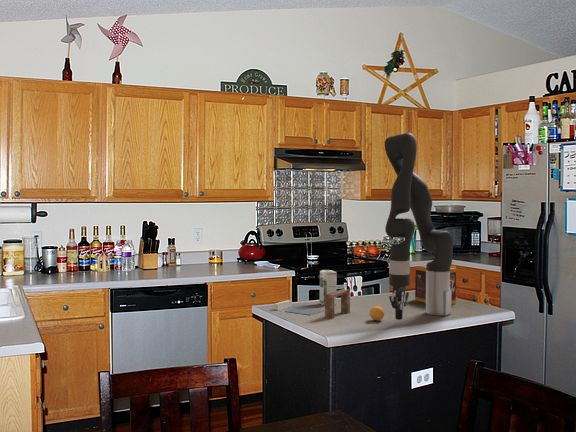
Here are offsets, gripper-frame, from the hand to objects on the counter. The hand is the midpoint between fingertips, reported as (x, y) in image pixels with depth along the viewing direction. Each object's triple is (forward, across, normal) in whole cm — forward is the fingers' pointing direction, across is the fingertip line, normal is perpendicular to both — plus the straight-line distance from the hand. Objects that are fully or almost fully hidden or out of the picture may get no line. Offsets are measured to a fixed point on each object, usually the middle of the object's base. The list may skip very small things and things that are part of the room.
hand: (398, 319), depth 227 cm
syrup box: (+2, +18, +41) cm, 45 cm away
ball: (-1, 0, +9) cm, 9 cm away
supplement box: (+2, +50, +5) cm, 50 cm away
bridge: (+2, 0, +26) cm, 26 cm away
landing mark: (+2, 0, +41) cm, 41 cm away
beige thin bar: (+2, 0, +52) cm, 52 cm away
